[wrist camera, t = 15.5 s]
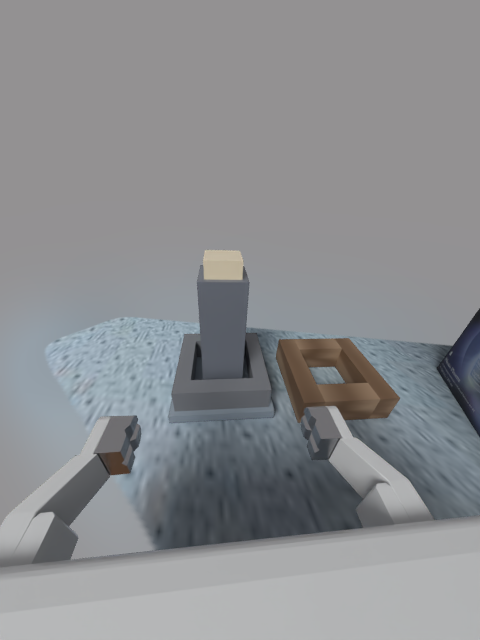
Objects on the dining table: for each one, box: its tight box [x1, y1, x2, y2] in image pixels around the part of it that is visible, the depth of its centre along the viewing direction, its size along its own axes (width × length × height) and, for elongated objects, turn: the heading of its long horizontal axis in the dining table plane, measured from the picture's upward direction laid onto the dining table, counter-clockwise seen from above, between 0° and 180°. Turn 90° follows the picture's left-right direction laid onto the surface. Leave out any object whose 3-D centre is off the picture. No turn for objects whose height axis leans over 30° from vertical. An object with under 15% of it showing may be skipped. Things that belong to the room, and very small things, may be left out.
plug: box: [197, 250, 249, 380], centre depth 21 cm, size 4×4×14 cm
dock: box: [168, 333, 275, 423], centre depth 24 cm, size 10×10×4 cm
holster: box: [276, 338, 400, 423], centre depth 25 cm, size 9×9×3 cm
